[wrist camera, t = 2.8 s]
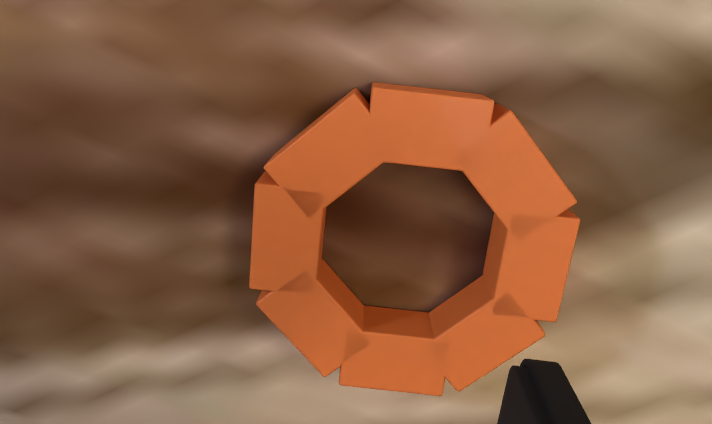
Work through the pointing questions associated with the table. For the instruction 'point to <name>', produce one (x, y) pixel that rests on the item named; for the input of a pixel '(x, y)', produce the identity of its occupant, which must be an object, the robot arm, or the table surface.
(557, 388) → the robot arm
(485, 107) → the terracotta ring
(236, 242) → the table surface
